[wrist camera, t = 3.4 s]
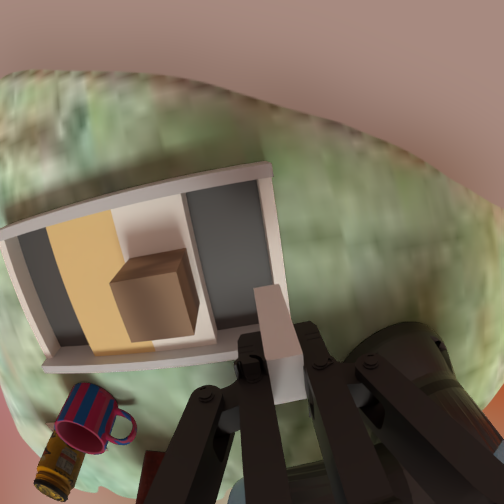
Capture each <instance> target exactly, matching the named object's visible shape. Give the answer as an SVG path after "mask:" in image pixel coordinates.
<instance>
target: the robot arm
mask: <svg viewBox="0 0 504 504" xmlns="http://www.w3.org/2000/svg"><path fill="white" fill-rule="evenodd" d="M253 289H254V295H255V301H256V307H257V313H258V319H259V325H260V331H257V332H251V333H245V334H241V335H240V337H239V339H238V341H237V344H238V358H237V359H236V361H235V362H234V369H235V373H236V376H237V380H236V381H235V382H234V383H233V384H231V385H230V386H228V387H225V388H223V389H219V388H218V387H216V386H212V385H205V386H202V387H199V388H197V389H196V390H195V391H194V392H193V393H192V394H191V396H190V398H189V401H188V403H187V405H186V408H185V410H184V412H183V414H182V417H181V419H180V421H179V424H178V426H177V428H176V430H175V433H174V435H173V437H172V439H171V442H170V444H169V446H168V448H167V451H166V453H165V455H164V458H163V460H162V462H161V464H160V467H159V469H158V471H157V473H156V476H155V478H154V480H153V483H152V485H151V487H150V489H149V492H148V494H147V496H146V498H145V501H144V503H143V504H215V503H216V499H217V496H218V492H219V489H220V485H221V482H222V478H223V475H224V471H225V468H226V464H227V460H228V457H229V453H230V450H231V446H232V442H233V439H234V435H235V431H238V430H240V432H241V447H242V462H243V476H244V477H243V478H241V479H240V480H238V481H237V482H236V483H235V485H234V486H233V488H232V490H231V492H230V495H229V499H228V503H227V504H504V439H503V438H502V436H501V435H500V434H499V433H498V431H497V430H496V429H495V427H494V426H493V425H492V423H491V422H490V421H489V420H488V418H487V417H486V416H485V414H484V413H483V412H482V411H481V409H480V408H479V407H478V406H477V404H476V403H475V402H474V401H473V399H472V398H471V397H470V396H469V394H468V393H467V392H466V391H465V390H464V388H463V387H462V386H461V385H460V383H459V382H458V381H457V379H456V376H455V373H454V370H453V367H452V364H451V361H450V358H449V355H448V352H447V349H446V346H445V344H444V342H443V341H442V339H441V338H440V337H439V336H438V335H437V334H436V333H435V332H434V331H433V330H432V329H431V328H430V327H429V326H427V325H425V324H422V323H417V322H405V323H400V324H396V325H393V326H390V327H387V328H385V329H383V330H381V331H379V332H377V333H375V334H373V335H372V336H370V337H369V338H367V339H366V340H365V341H363V342H362V343H361V344H360V345H359V346H357V347H356V348H355V349H354V350H353V351H352V352H351V353H350V355H349V356H348V357H347V358H346V360H345V361H344V362H343V363H341V362H338V361H336V360H335V359H334V358H333V357H332V356H330V355H329V352H328V350H327V348H326V346H325V343H324V341H323V339H322V337H321V335H320V333H319V330H318V328H317V326H316V325H315V324H314V323H312V322H311V321H307V322H302V323H297V324H293V323H292V320H291V317H290V314H289V311H288V308H287V305H286V302H285V299H284V297H283V294H282V291H281V288H280V285H279V284H274V285H269V286H263V287H258V288H253ZM306 394H307V396H306ZM307 397H308V405H309V417H312V421H313V424H314V428H315V431H316V435H317V439H318V442H319V446H320V449H321V453H322V456H323V460H320V461H316V462H312V463H307V464H303V465H298V466H293V467H288V468H286V465H285V459H284V454H283V448H282V443H281V437H280V432H279V426H278V421H277V415H276V410H275V405H277V404H282V403H288V402H293V401H298V400H303V399H307Z"/></svg>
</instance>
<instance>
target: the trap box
mask: <svg viewBox="0 0 504 504" xmlns="http://www.w3.org/2000/svg"><path fill="white" fill-rule="evenodd" d="M271 177H274V176H273V169H272V163H270V162H267V161H260V162H254V163H248V164H242V165H236V166H231V167H225V168H219V169H214V170H209V171H204V172H199V173H194V174H189V175H184V176H179V177H175V178H170V179H165V180H161V181H157V182H152V183H148V184H144V185H140V186H136V187H132V188H128V189H124V190H120V191H116V192H112V193H108V194H105V195H101V196H97V197H94V198H90V199H86V200H83V201H80V202H76V203H73V204H69V205H66V206H63V207H60V208H56V209H53V210H50V211H47V212H44V213H41V214H38V215H35V216H32V217H29V218H26V219H23V220H20V221H17V222H14V223H11V224H9V225H6V226H4V227H2V228H0V249H1V252H2V255H3V258H4V261H5V264H6V267H7V270H8V273H9V276H10V278H11V281H12V284H13V286H14V289H15V291H16V294H17V296H18V299H19V301H20V304H21V306H22V308H23V311H24V313H25V315H26V318H27V320H28V322H29V324H30V326H31V328H32V330H33V333H34V335H35V337H36V339H37V341H38V343H39V345H40V347H41V349H42V351H43V352H44V354H45V356H46V358H47V359H46V360H45V361H44V363H43V364H42V366H41V367H42V368H43V370H44V372H45V373H103V372H123V371H139V370H152V369H163V368H173V367H183V366H192V365H200V364H208V363H216V362H223V361H230V360H236V359H237V358H238V344H237V341H238V339H239V337H240V335H241V334H245V333H251V332H257V331H260V325H259V319H258V313H257V307H256V301H255V295H254V289H253V288H258V287H263V286H269V285H274V284H279V285H280V288H281V291H282V294H283V297H284V299H285V302H286V305H287V308H288V311H289V314H290V308H289V300H288V292H287V284H286V277H285V269H284V262H283V254H282V247H281V240H280V233H279V225H278V219H277V212H276V205H275V198H274V191H273V185H272V178H271ZM182 248H186V249H187V253H188V258H189V262H190V266H191V270H192V274H193V278H194V282H195V286H196V290H197V293H198V297H199V301H200V305H199V311H198V317H197V323H196V329H195V335H193V336H185V337H178V338H170V339H161V340H153V341H144V342H134V343H131V340H130V338H129V335H128V333H127V330H126V328H125V325H124V323H123V320H122V318H121V315H120V312H119V310H118V307H117V304H116V302H115V299H114V296H113V293H112V290H111V287H110V285H109V283H110V281H111V280H112V279H113V278H114V276H115V275H116V274H117V273H118V272H119V270H120V269H121V268H122V267H123V265H124V264H125V263H126V262H127V261H128V259H129V258H134V257H139V256H144V255H150V254H155V253H160V252H166V251H171V250H177V249H182ZM290 317H291V316H290Z"/></svg>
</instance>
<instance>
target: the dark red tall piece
mask: <svg viewBox="0 0 504 504" xmlns="http://www.w3.org/2000/svg"><path fill="white" fill-rule="evenodd" d="M165 453H166V452H157V451H148V450H147V451H146V452H145V457H144V462H143V467H142V472H141V477H140V483H139V488H138V494H137V499H136V504H143V503H144V501H145V498H146V496H147V494H148V492H149V489H150V487H151V485H152V483H153V480H154V478H155V476H156V473H157V471H158V469H159V467H160V464H161V462H162V460H163V458H164V455H165Z"/></svg>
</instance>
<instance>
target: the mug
mask: <svg viewBox="0 0 504 504" xmlns="http://www.w3.org/2000/svg"><path fill="white" fill-rule="evenodd" d="M117 415H119V416H123V417H125V418H127V419H128V420H130V421H131V422H132V424H133V427H132V431H131V433H130V435H129V436H128V437H126V438H124V439H117V438H114V437H112V436H111V435H110V434H111V431H112V428H113V425H114V422H115V419H116V416H117ZM54 428H55V431H56V433H57V434H58V436H59V437H60V438H61V439H62V440H63V441H64V442H65V443H67V444H68V445H70V446H71V447H73V448H75V449H77V450H79V451H81V452H84V453H87V454H94V455H97V454H102V453H104V452H105V450H106V447H107V444H108V441H110V442H112V443H114V444H118V445H127V444H129V443H131V442H132V441H133V440H134V438H135V436H136V433H137V424H136V421H135V420H134V418H133V417H132V416H131V415H130V414H129V413H127V412H126V411H124V410H121V409H119V408H118V404H117V402H116V400H115V399H114V398H113V396H112V395H111V394H110V393H108V392H107V391H106V390H104V389H103V388H101V387H99V386H97V385H94V384H91V383H85V382H84V383H78V384H76V385H74V386H73V388H72V390H71V392H70V394H69V396H68V398H67V400H66V402H65V404H64V405H63V407H62V409H61V411H60V413H59V415H58V417H57V419H56V421H55V424H54Z"/></svg>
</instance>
